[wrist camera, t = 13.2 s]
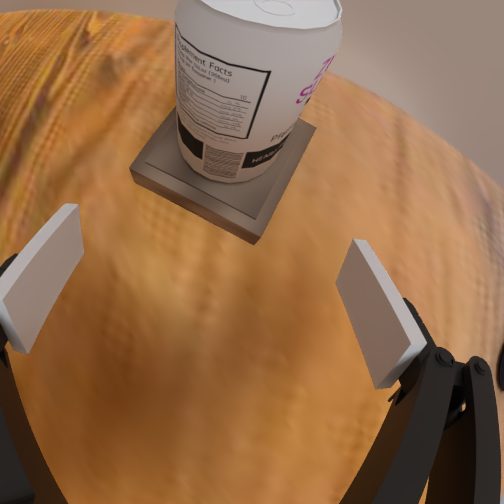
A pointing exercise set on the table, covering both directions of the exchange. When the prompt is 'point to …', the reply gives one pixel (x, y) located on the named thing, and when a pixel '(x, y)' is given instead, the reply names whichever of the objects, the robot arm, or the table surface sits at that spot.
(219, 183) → the stand
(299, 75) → the supplement can
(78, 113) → the table surface
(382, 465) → the robot arm
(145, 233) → the table surface
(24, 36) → the table surface
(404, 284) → the table surface
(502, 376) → the canister
